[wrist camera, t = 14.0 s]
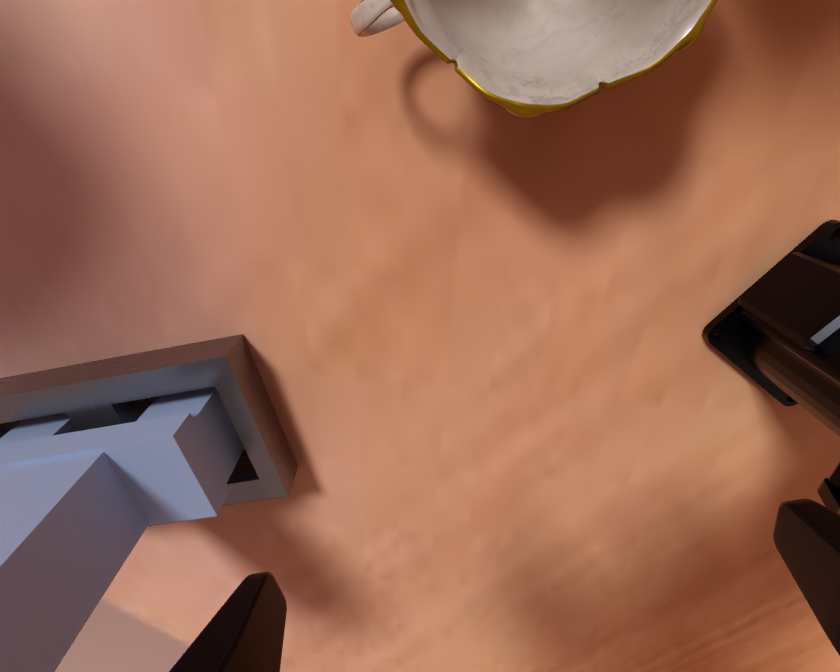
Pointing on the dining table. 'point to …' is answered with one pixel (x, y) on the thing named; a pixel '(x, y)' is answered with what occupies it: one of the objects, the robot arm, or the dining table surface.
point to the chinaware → (543, 42)
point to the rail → (156, 376)
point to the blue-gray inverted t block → (96, 510)
